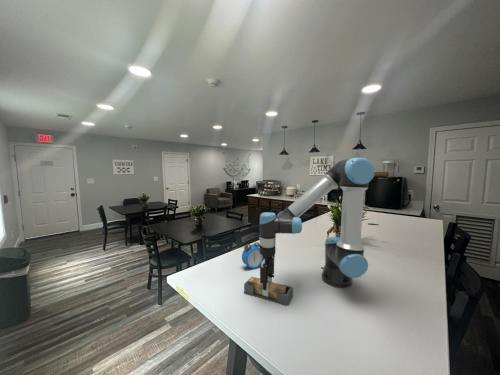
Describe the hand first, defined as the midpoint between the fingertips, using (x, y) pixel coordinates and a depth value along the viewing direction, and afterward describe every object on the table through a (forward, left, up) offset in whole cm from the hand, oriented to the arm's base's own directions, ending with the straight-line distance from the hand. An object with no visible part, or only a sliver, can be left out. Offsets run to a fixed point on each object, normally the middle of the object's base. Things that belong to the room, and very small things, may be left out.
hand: (267, 292), depth 96 cm
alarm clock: (+20, -23, -1) cm, 30 cm away
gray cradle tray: (0, 0, -1) cm, 1 cm away
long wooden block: (0, 0, 0) cm, 0 cm away
